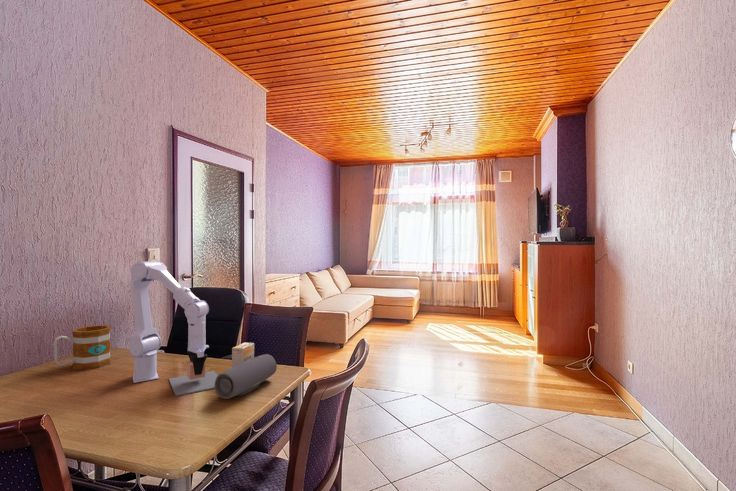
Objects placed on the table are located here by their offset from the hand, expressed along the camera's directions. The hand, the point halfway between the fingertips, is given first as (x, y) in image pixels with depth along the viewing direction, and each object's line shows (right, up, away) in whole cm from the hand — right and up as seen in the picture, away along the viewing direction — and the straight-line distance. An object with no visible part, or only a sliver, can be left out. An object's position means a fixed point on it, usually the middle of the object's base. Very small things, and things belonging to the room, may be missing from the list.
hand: (196, 372), depth 136 cm
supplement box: (+16, -4, +4) cm, 17 cm away
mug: (-54, -4, +17) cm, 57 cm away
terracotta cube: (0, -2, 0) cm, 2 cm away
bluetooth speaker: (+20, -5, -6) cm, 21 cm away
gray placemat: (0, -4, 0) cm, 4 cm away
